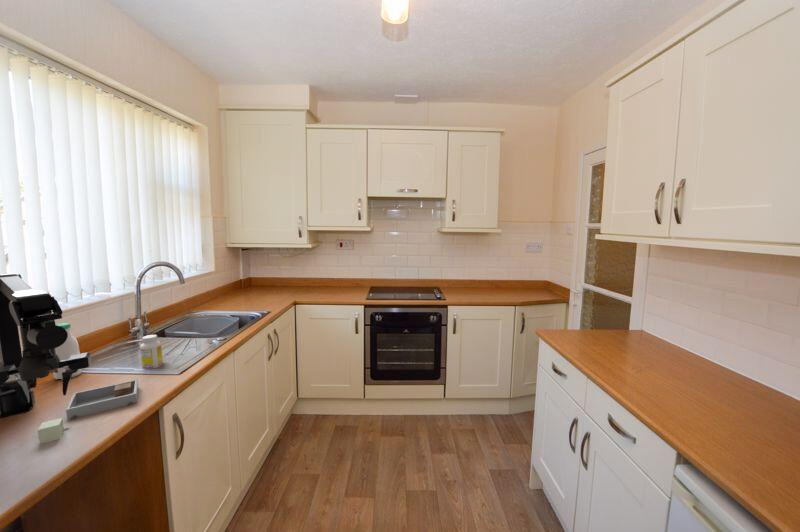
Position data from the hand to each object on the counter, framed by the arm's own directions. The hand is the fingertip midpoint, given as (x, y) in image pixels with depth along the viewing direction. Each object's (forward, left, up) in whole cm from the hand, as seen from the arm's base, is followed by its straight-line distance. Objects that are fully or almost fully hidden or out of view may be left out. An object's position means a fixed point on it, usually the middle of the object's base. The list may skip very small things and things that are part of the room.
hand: (46, 398), depth 91 cm
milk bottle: (-4, +49, -11) cm, 50 cm away
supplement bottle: (+22, +39, -11) cm, 46 cm away
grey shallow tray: (+10, +13, -11) cm, 20 cm away
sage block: (0, 0, -11) cm, 11 cm away
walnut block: (+14, +13, -10) cm, 22 cm away
